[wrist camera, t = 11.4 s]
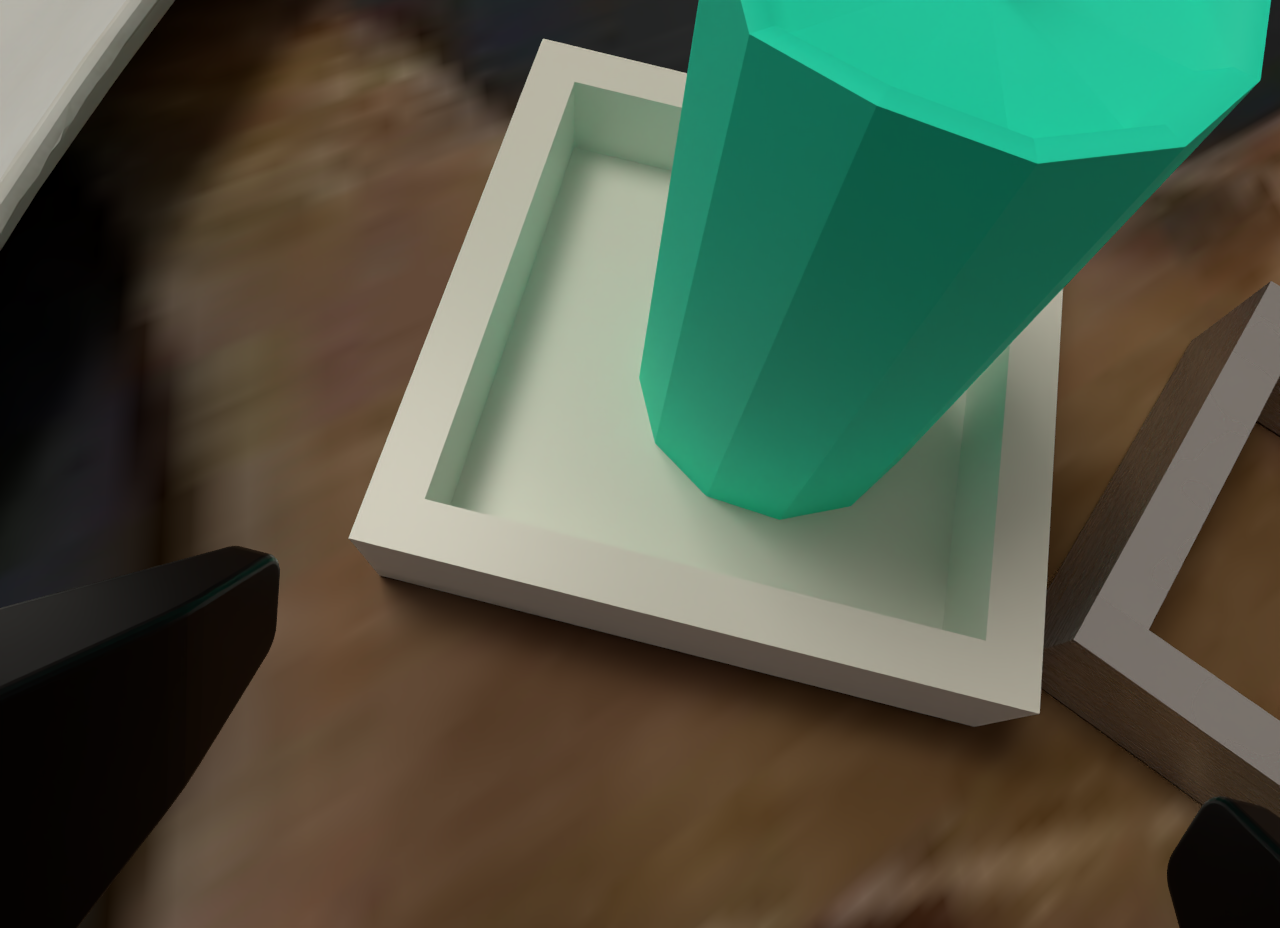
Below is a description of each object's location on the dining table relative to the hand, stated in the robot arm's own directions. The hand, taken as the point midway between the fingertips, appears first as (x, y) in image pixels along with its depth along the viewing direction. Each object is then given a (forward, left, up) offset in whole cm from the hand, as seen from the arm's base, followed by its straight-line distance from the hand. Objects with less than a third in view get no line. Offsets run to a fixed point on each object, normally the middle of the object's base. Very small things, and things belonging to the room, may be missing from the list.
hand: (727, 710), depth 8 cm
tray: (+6, +5, -8) cm, 12 cm away
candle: (+7, +5, -8) cm, 11 cm away
